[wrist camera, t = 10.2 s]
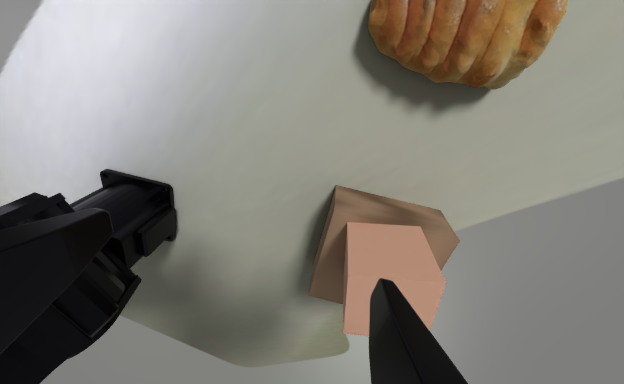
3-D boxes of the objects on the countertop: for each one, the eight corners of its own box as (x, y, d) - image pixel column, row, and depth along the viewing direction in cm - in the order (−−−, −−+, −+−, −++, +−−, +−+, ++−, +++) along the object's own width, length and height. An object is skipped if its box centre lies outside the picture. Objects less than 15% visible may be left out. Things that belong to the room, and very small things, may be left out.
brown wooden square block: (313, 262, 25) (308, 295, 22) (336, 185, 21) (334, 210, 18) (400, 283, 25) (409, 320, 22) (440, 210, 21) (459, 240, 17)
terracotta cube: (343, 273, 20) (343, 333, 16) (347, 222, 18) (348, 274, 13) (408, 279, 20) (426, 342, 15) (420, 226, 17) (446, 282, 13)
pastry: (358, 73, 17) (361, 75, 14) (380, -59, 14) (391, -97, 11) (498, 89, 17) (537, 96, 13) (554, -45, 14) (624, -80, 10)
